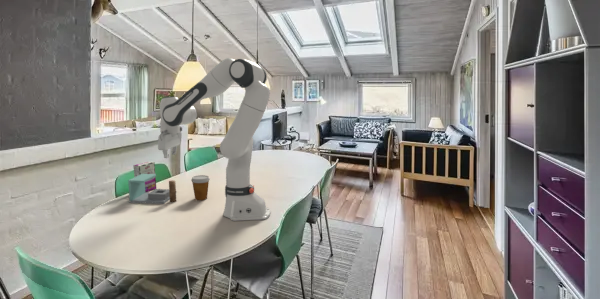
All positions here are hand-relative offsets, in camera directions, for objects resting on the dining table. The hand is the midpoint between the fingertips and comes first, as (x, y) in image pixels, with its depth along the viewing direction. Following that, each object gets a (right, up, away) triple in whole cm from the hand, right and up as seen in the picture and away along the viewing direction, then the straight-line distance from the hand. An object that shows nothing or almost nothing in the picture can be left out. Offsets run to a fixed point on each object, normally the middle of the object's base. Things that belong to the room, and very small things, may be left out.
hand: (170, 156), depth 163 cm
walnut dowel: (-1, -24, +7) cm, 25 cm away
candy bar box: (-24, -21, +24) cm, 40 cm away
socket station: (-13, -23, +10) cm, 28 cm away
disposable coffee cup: (+12, -24, +12) cm, 29 cm away
